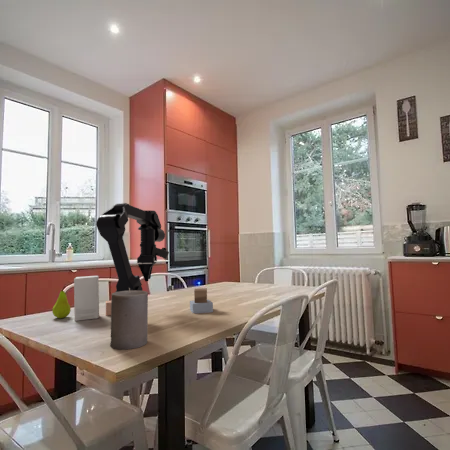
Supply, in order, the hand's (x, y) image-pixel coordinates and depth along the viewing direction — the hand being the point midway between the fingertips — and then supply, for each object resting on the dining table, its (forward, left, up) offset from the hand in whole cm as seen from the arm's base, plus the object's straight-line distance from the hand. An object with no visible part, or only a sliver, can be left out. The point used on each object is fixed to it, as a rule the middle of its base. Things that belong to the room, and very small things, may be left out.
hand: (147, 280), depth 123 cm
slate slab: (-1, -21, -13) cm, 25 cm away
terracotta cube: (+2, +14, -13) cm, 19 cm away
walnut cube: (-1, -21, -9) cm, 23 cm away
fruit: (-1, +32, -13) cm, 35 cm away
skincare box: (-4, +22, -13) cm, 26 cm away
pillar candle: (-40, +1, -13) cm, 42 cm away
